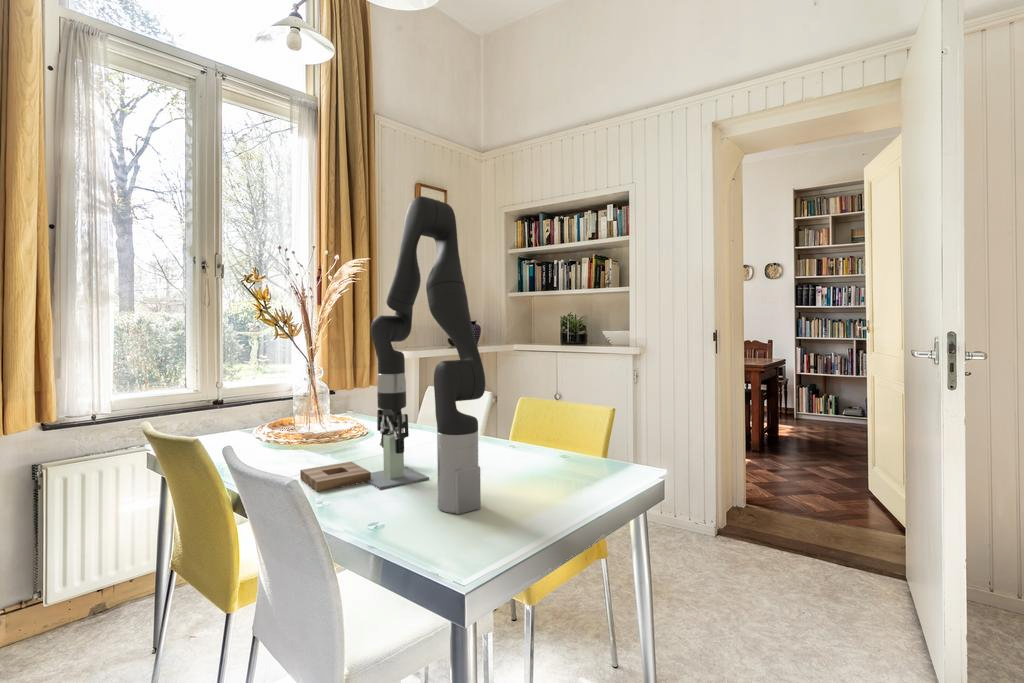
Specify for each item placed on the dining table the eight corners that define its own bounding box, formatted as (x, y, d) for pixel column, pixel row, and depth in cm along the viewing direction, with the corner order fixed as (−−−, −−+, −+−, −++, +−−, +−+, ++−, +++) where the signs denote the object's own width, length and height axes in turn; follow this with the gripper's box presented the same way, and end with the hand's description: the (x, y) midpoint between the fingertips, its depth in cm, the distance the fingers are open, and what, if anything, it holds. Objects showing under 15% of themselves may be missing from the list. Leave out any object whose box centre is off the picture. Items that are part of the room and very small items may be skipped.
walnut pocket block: (370, 481, 140) (370, 472, 140) (316, 491, 132) (316, 481, 132) (351, 470, 151) (351, 461, 151) (300, 479, 143) (300, 469, 143)
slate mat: (429, 479, 142) (429, 477, 142) (379, 489, 133) (379, 487, 133) (405, 468, 153) (405, 466, 153) (358, 477, 144) (358, 474, 144)
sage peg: (403, 476, 143) (403, 435, 142) (390, 479, 140) (389, 437, 140) (397, 473, 146) (396, 433, 145) (383, 475, 143) (383, 435, 143)
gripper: (416, 391, 139) (417, 453, 139) (393, 387, 150) (394, 444, 150) (390, 393, 134) (391, 457, 135) (367, 389, 145) (368, 447, 146)
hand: (392, 450), depth 142 cm, fingers open, 8 cm apart
